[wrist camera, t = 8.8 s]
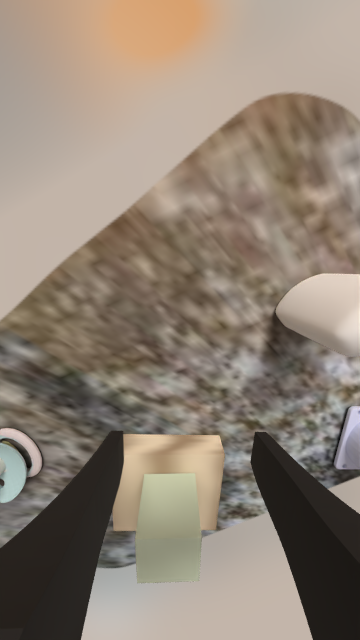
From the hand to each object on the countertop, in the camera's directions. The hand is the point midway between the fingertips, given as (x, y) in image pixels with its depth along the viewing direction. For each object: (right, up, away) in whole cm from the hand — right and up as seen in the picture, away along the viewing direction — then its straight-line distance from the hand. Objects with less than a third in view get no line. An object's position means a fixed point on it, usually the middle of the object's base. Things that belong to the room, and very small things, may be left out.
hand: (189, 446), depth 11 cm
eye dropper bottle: (+11, +9, +8) cm, 16 cm away
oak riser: (-2, -10, +13) cm, 17 cm away
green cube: (-2, -11, +10) cm, 15 cm away
